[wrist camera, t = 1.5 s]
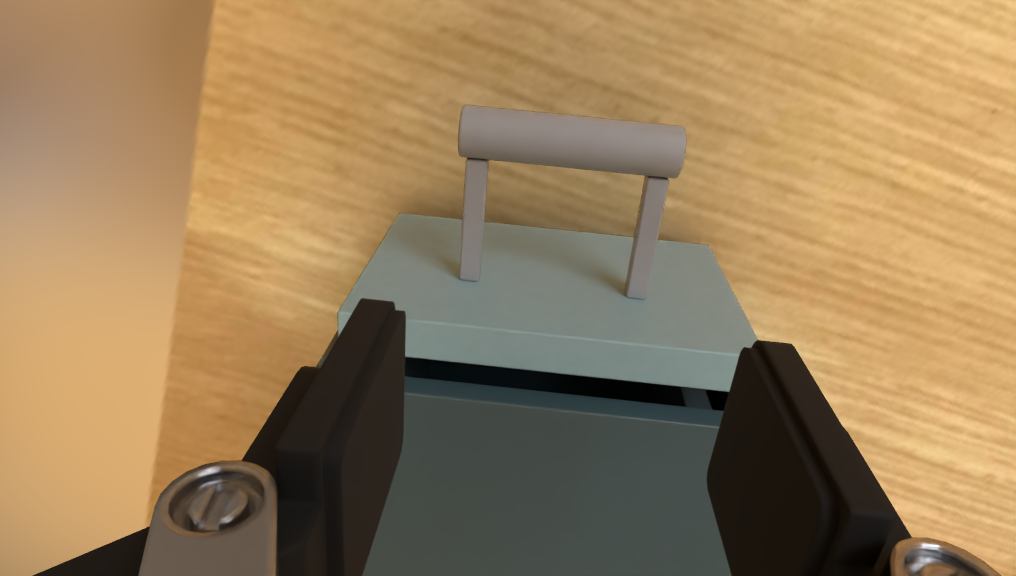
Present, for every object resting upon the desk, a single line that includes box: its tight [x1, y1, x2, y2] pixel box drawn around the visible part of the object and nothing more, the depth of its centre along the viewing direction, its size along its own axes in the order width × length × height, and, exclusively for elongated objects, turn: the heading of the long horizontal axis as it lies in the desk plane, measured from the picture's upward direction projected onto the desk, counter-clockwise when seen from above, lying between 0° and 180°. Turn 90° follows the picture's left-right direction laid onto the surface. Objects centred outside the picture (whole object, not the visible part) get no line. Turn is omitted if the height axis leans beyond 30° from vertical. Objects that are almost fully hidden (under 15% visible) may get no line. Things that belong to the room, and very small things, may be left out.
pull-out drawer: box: [337, 105, 758, 410], centre depth 23 cm, size 19×11×8 cm, turn 175°
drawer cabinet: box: [317, 331, 732, 576], centre depth 25 cm, size 15×13×10 cm
